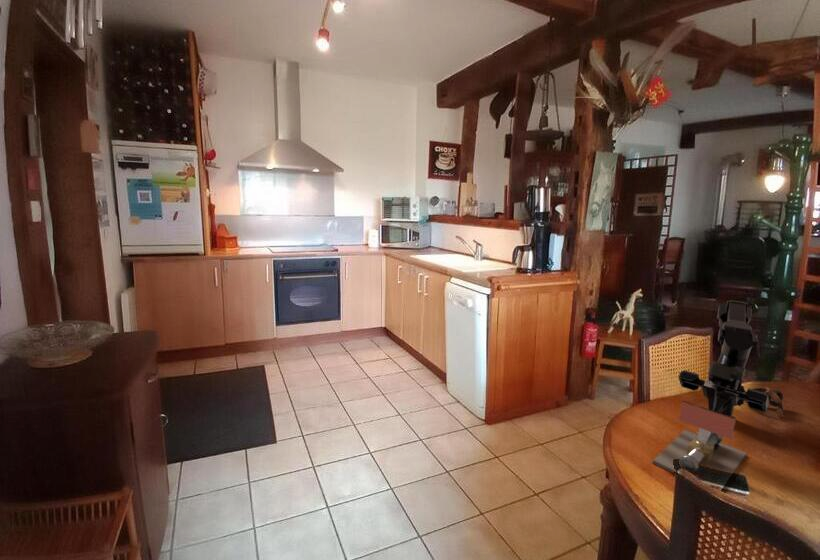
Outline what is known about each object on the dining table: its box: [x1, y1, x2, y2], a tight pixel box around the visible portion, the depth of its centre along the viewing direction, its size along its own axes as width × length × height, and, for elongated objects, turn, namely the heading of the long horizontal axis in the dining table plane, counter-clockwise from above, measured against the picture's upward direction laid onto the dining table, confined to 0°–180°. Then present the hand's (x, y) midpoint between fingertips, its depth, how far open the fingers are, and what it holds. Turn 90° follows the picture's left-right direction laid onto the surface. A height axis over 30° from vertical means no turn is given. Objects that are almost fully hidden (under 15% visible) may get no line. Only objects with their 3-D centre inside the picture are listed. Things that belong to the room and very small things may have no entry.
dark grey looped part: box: [744, 386, 785, 418], centre depth 132 cm, size 12×10×8 cm
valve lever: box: [678, 400, 737, 446], centre depth 104 cm, size 1×11×9 cm, turn 40°
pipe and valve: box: [679, 432, 723, 473], centre depth 105 cm, size 20×4×4 cm, turn 130°
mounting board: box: [652, 429, 747, 491], centre depth 106 cm, size 23×14×1 cm, turn 130°
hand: (710, 418), depth 106 cm, fingers closed
